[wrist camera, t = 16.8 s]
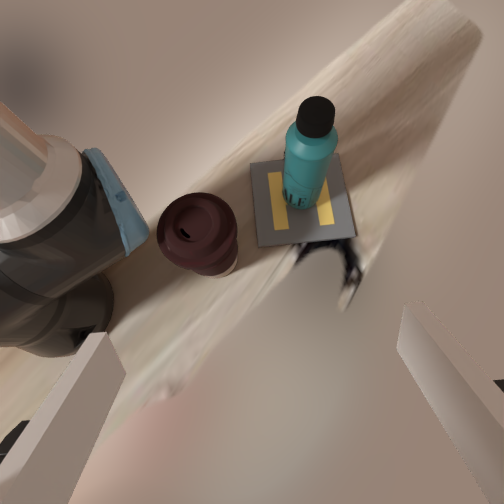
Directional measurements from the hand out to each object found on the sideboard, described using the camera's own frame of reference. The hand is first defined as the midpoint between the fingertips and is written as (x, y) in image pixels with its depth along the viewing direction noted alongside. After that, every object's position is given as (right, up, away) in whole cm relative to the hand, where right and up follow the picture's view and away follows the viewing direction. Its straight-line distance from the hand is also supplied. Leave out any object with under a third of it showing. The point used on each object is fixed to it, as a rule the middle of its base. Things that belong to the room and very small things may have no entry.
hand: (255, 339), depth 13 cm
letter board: (+8, +13, +37) cm, 40 cm away
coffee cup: (-6, +3, +35) cm, 35 cm away
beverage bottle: (+8, +13, +36) cm, 39 cm away
